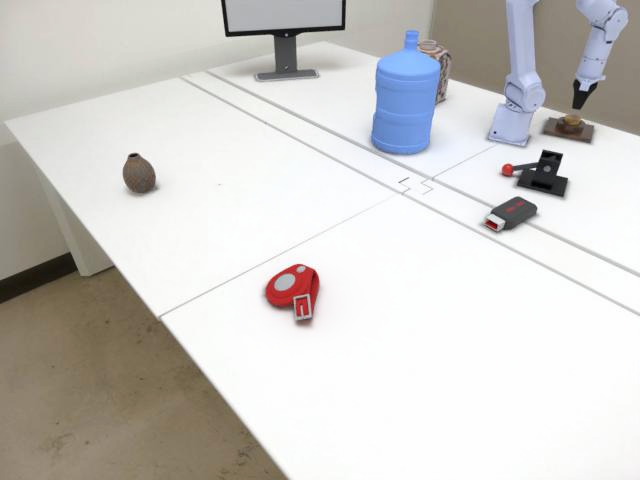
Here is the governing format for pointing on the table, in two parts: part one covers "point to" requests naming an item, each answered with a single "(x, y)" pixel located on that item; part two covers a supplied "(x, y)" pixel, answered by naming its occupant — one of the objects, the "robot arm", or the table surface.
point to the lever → (521, 166)
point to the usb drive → (510, 214)
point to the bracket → (545, 175)
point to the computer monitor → (283, 27)
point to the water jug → (405, 99)
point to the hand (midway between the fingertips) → (576, 108)
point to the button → (572, 119)
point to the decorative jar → (444, 60)
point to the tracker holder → (295, 289)
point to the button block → (569, 130)
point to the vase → (138, 174)
